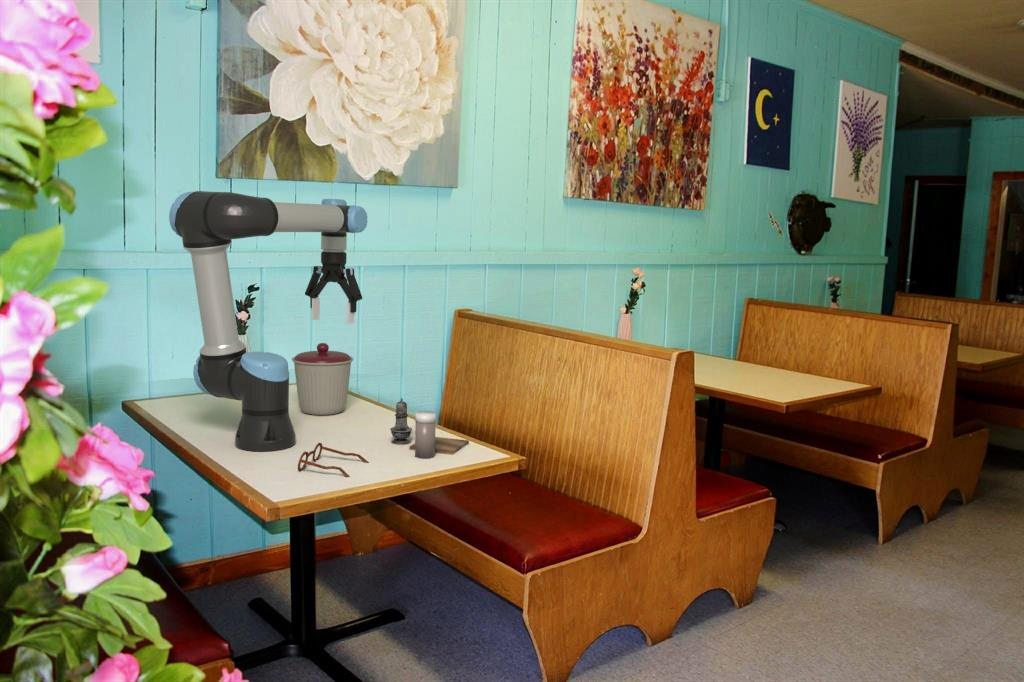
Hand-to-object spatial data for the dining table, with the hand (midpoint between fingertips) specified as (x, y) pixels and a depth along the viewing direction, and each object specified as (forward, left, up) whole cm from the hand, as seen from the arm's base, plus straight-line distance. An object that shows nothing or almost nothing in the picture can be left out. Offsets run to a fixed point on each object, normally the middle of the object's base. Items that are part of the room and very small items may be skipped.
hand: (332, 321), depth 269 cm
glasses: (-56, -30, -28) cm, 69 cm away
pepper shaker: (-38, -46, -27) cm, 65 cm away
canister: (-5, +1, -27) cm, 28 cm away
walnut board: (-28, -46, -27) cm, 60 cm away
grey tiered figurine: (-28, -35, -27) cm, 52 cm away
